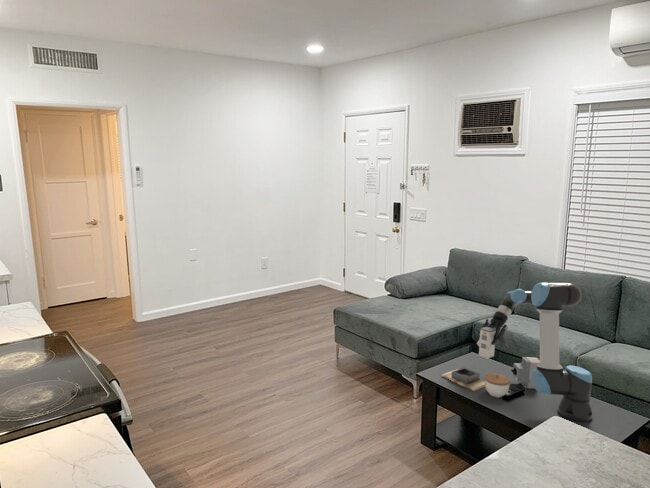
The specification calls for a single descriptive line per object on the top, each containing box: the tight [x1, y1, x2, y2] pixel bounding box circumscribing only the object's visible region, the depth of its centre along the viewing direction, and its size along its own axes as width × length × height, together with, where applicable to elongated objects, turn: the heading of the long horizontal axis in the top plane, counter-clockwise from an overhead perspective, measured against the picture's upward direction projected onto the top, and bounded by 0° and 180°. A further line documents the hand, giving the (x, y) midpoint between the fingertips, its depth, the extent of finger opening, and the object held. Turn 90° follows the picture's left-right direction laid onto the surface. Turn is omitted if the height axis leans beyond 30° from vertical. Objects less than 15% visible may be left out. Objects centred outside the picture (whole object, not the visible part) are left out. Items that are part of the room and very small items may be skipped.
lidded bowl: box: [484, 372, 511, 398], centre depth 248 cm, size 13×13×11 cm
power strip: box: [478, 327, 496, 359], centre depth 269 cm, size 6×6×16 cm
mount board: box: [441, 368, 486, 392], centre depth 265 cm, size 22×14×1 cm, turn 35°
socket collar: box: [451, 366, 481, 384], centre depth 265 cm, size 11×11×4 cm
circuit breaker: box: [511, 356, 540, 390], centre depth 260 cm, size 8×14×15 cm, turn 88°
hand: (483, 346), depth 267 cm, fingers closed on power strip, 6 cm apart
